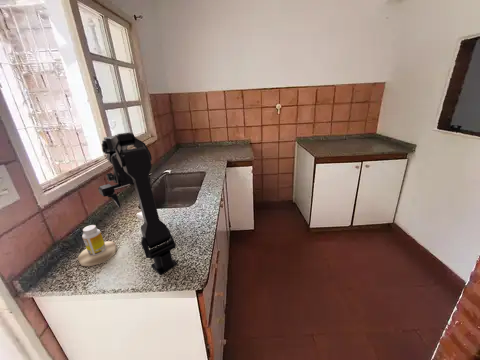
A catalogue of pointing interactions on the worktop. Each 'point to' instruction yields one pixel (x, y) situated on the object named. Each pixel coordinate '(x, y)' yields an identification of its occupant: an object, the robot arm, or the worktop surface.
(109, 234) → the worktop surface
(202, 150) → the worktop surface
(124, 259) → the worktop surface
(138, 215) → the soap
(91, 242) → the supplement bottle
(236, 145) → the worktop surface
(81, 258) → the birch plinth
